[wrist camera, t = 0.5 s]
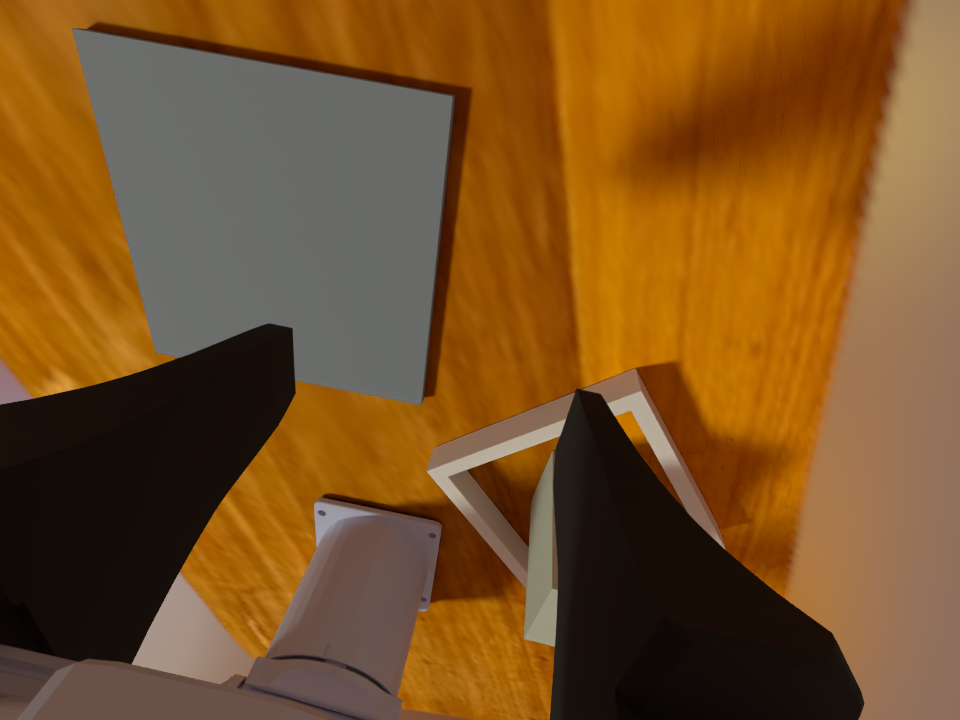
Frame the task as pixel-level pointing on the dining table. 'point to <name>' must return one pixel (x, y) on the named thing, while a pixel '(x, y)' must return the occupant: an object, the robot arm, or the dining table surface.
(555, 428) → the rectangular frame
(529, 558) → the block
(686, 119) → the dining table surface
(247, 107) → the mat
